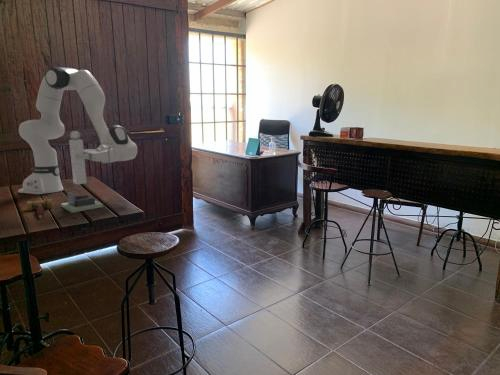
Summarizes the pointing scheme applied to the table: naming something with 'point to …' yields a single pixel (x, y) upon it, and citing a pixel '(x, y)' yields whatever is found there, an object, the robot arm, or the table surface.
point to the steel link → (77, 164)
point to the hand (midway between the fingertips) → (75, 156)
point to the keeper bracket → (80, 203)
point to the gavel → (39, 206)
